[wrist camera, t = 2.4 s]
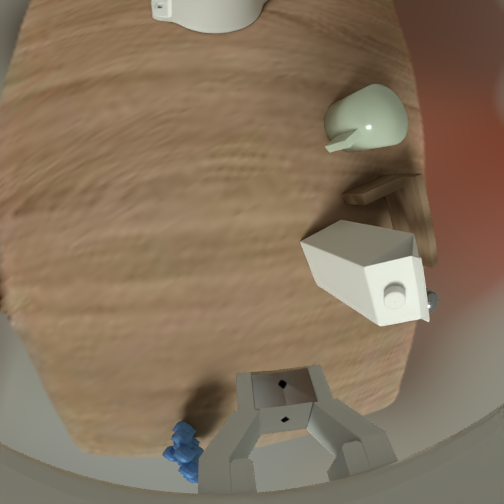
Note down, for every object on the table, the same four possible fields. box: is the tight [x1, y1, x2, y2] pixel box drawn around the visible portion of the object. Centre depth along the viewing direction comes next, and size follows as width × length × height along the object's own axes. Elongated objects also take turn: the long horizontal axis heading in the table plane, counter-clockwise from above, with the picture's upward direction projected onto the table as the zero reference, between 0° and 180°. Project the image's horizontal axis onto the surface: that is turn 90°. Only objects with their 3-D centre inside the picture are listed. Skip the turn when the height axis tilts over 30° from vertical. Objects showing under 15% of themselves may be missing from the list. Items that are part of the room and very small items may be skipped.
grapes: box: [162, 421, 204, 483], centre depth 34 cm, size 12×7×12 cm, turn 5°
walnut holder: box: [342, 174, 438, 268], centre depth 37 cm, size 14×9×8 cm, turn 22°
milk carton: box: [300, 220, 429, 326], centre depth 30 cm, size 7×7×19 cm
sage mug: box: [324, 84, 408, 153], centre depth 32 cm, size 8×11×9 cm
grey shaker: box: [426, 288, 439, 313], centre depth 40 cm, size 4×4×10 cm
